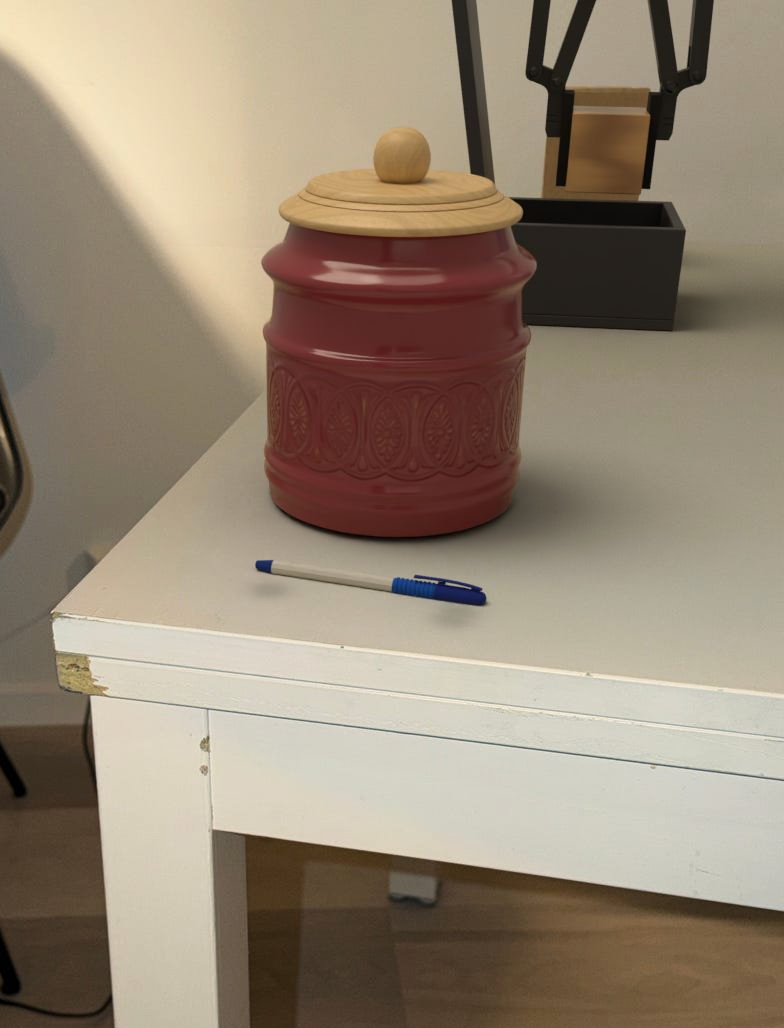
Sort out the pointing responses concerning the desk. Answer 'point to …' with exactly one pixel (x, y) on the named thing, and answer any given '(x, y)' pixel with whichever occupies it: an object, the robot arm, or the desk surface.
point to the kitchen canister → (396, 348)
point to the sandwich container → (590, 97)
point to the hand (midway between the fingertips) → (602, 184)
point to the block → (607, 149)
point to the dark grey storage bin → (601, 262)
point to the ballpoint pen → (380, 582)
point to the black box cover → (473, 88)
